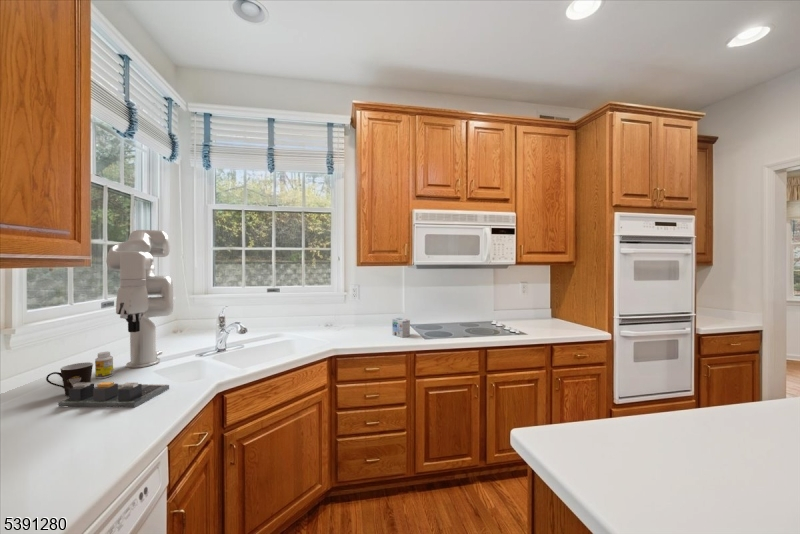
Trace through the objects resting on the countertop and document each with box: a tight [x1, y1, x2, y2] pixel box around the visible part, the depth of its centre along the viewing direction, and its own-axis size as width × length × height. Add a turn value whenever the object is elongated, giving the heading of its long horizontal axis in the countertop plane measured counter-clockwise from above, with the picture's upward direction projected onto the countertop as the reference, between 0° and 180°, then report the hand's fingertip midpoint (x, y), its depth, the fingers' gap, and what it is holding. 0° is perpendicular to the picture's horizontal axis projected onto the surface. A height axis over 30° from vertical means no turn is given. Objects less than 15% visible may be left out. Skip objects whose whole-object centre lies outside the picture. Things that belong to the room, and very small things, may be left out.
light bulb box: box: [391, 317, 411, 339], centre depth 215 cm, size 11×7×11 cm, turn 41°
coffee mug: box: [45, 361, 94, 397], centre depth 121 cm, size 12×9×10 cm
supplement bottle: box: [94, 351, 114, 380], centre depth 138 cm, size 6×6×10 cm
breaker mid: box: [93, 381, 119, 401], centre depth 113 cm, size 5×4×5 cm
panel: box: [57, 382, 170, 408], centre depth 118 cm, size 16×26×7 cm, turn 89°
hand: (133, 331), depth 125 cm, fingers closed
